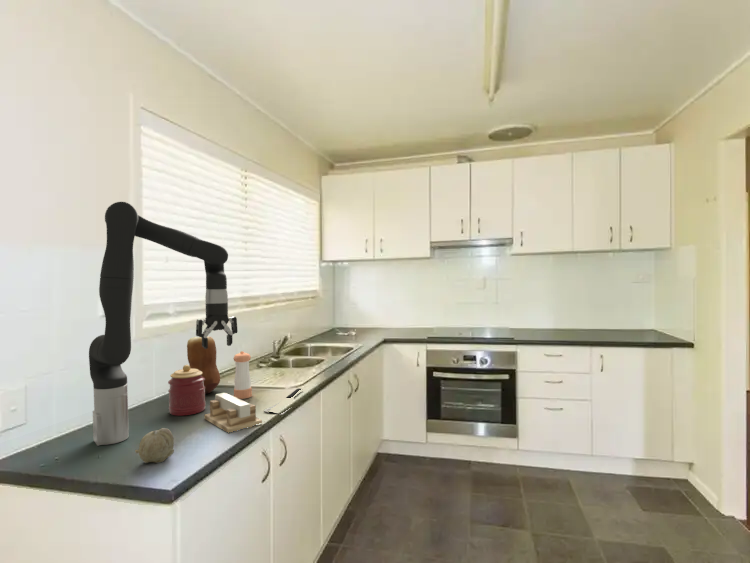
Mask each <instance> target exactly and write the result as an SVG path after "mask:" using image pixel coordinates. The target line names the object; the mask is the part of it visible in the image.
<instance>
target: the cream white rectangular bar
mask: <svg viewBox="0 0 750 563" xmlns="http://www.w3.org/2000/svg"><path fill="white" fill-rule="evenodd" d="M233 396H234V395H231V394H230V393H229V394H228V393H227V392H221V393H216V394H215V396H214V397H215V399H214V400H217V401H219V407H220V408H222V409H224V410H226V411H227V409H231V408H233V409H235V410H236V416H237V417H239V418H243V417H247V416H250V404H251V403H249V402H246V401H244V400H243V399H238V398H236V397H233Z"/></svg>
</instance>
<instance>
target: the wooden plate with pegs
mask: <svg viewBox="0 0 750 563" xmlns="http://www.w3.org/2000/svg"><path fill="white" fill-rule="evenodd" d="M232 396H233V397H235V396H234V395H232ZM236 398H237V397H236ZM249 404H250V416H247V417H243V418H239V417H237V416H236V410H235V409H233V408H231V409H227V411H226V410H224V409H222V408H220V407H219V401H217V400H216V399H212V400H209V412H210V413H207V414H204V420H205V421H207V422H208V423H211V424H213V425H214V426H216V427H217V428H219V429H221V430H222V429H223V431H224V432H225V431H226V433H227V432H228V433H227V434H230V433H229V432H232V433H234V432H233V431H236V432H238V431H237V430H239V431H241V430H240V429H243V428H247V427H250V428H252V427H251V426H253V425H256V424H259V423H262V424H263V420H262V419H260V418H258V417H256V416H257V415H256V413H257V411H256V405H255V404H253V403H249ZM247 429H248V428H247ZM243 430H244V429H243Z"/></svg>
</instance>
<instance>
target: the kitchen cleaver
mask: <svg viewBox="0 0 750 563" xmlns="http://www.w3.org/2000/svg"><path fill="white" fill-rule="evenodd" d="M301 389H302V388H296V389H294V390H293V391H292V392H291V393H289V395H287V396H286V397H285V398H291V397H293V396H294V395H295V394H296V393H297V392H298V391H299V390H301ZM279 403H280V402H278V403H275V404H274V405H272V406H270V407H267V408H265V409H263V412H264V411H265V413H269V412H268V411H270V410H271V408H273V407H275V406H276V405H277V404H279ZM290 409H291V408H289V409H288V410H286V411H285V412H283V413H281V414H280V415H284V414H285V413H286V412H287V411H289V410H290Z"/></svg>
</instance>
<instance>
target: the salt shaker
mask: <svg viewBox="0 0 750 563" xmlns="http://www.w3.org/2000/svg"><path fill="white" fill-rule="evenodd" d="M251 358H252V356H251V354H250V353H247V352H245V351H244V350H243V351H240V352H239V353H236V354H234V356H233V361H234V362H235V375H234V388H233V396H235V397H237V398H238V399H240V400H243V399H249V398H251V397H252V396H253V389H252V386H251V385H252V379H251V373H250V360H251Z"/></svg>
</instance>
